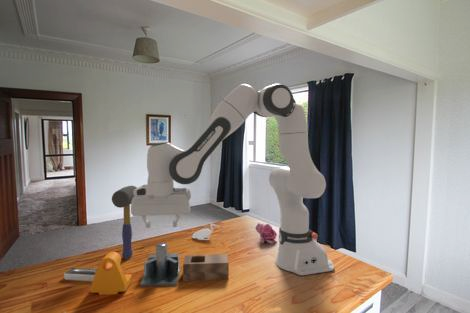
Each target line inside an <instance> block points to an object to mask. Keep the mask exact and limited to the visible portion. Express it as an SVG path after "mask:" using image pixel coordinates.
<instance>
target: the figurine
mask: <svg viewBox="0 0 470 313" xmlns="http://www.w3.org/2000/svg"><path fill="white" fill-rule="evenodd" d="M209 226H210V228H207V227H206V228H201V229H199V230H197V231H195V232H194V233H193V234H192V239H197V240H201V241H203V240H204V241H209V240H210V238H211V234H212V233H213V232H214V228H213V226H214V227H218V228H219V230H221V228H220V226H219V225H217V224H215V223H210V225H209Z"/></svg>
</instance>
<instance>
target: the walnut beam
mask: <svg viewBox="0 0 470 313" xmlns="http://www.w3.org/2000/svg"><path fill="white" fill-rule="evenodd" d="M229 267H230V266H229V256H228V253H223V254H222V253H221V254H218V253H217V254H191V255H189V254H188V255H187V254H186V255H184V259H183V263H182V281H183V282H186V281H187V282H189V281H190V282H191V281H209V280H210V281H212V280H216V281H217V280H229V273H230V272H229V271H230V270H229V269H230V268H229Z"/></svg>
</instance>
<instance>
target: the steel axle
mask: <svg viewBox="0 0 470 313" xmlns="http://www.w3.org/2000/svg"><path fill="white" fill-rule="evenodd" d="M155 254H156V276H157V277H165V276H167V275H168V260H167V254H168V243H167V242H158V243H156V244H155Z"/></svg>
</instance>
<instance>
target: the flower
mask: <svg viewBox="0 0 470 313" xmlns="http://www.w3.org/2000/svg"><path fill="white" fill-rule="evenodd" d="M255 230H256V232H257V233H258V234H259V238H260V240H261V245H263V244H264V243H265V242H267V243H268V244H275V243H277V241H276V238H277V236H278V235H277V232H276V231H275V230H274V229H273V227H272V226H271V225H270V224H268V223H267V224H263V223H262V224H261V223H257V225H256V226H255Z"/></svg>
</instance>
